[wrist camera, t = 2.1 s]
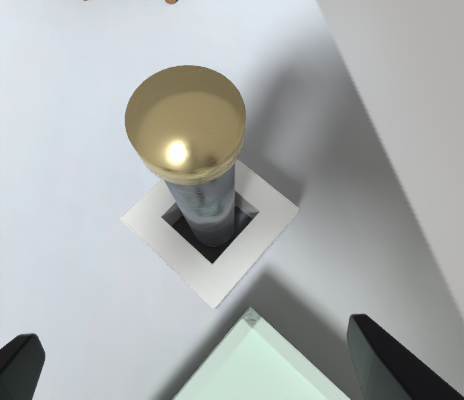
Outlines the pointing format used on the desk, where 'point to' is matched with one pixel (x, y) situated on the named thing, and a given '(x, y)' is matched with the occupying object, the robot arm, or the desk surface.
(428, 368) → the robot arm
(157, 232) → the socket block
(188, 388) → the tray
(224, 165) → the pin
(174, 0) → the lion figurine
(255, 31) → the desk surface
